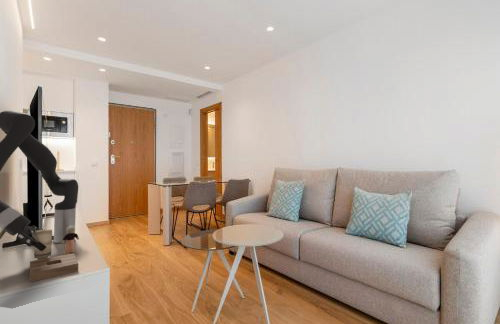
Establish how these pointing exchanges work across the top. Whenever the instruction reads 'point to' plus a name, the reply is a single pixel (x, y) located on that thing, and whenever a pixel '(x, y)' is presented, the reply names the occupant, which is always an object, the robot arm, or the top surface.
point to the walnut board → (53, 267)
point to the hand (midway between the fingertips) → (47, 246)
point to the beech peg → (45, 239)
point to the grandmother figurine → (70, 240)
